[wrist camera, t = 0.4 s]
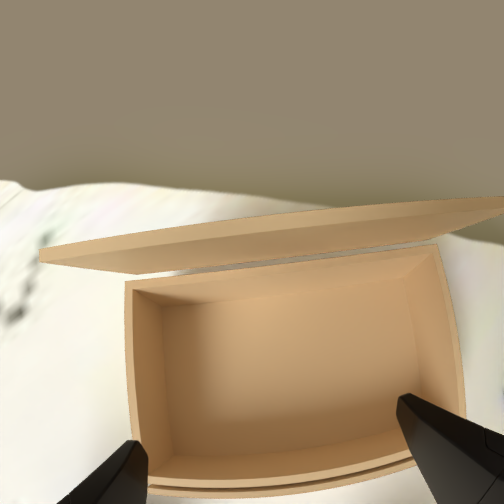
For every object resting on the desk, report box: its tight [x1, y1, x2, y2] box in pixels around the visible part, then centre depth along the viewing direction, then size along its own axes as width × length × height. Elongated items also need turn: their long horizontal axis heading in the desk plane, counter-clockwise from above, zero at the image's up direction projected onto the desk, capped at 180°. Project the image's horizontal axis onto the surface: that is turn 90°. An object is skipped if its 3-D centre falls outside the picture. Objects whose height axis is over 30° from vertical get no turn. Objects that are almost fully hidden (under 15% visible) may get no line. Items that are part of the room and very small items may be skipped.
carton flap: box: [39, 196, 504, 275], centre depth 14 cm, size 10×20×1 cm
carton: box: [124, 244, 466, 499], centre depth 20 cm, size 15×22×6 cm
